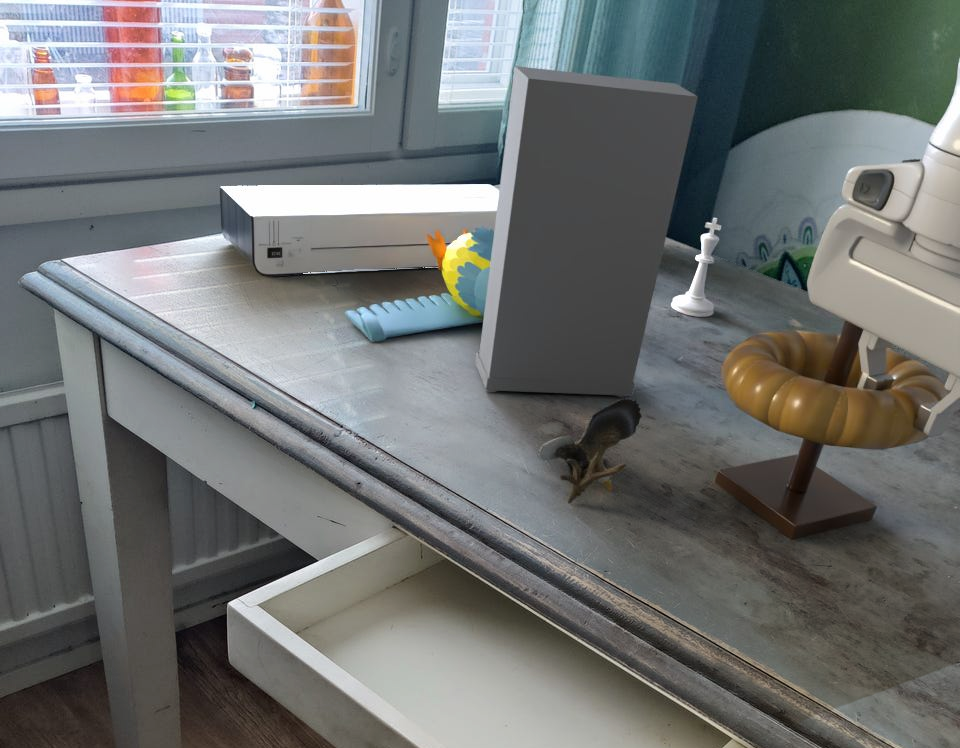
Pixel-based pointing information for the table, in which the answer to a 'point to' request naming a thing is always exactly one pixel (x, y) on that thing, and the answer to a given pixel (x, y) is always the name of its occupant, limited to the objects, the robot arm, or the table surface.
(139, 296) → the table surface
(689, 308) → the chess piece
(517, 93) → the gray rectangular block
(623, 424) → the eagle figurine
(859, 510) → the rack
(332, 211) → the laminator
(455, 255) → the blue yellow toy
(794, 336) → the bread ring
